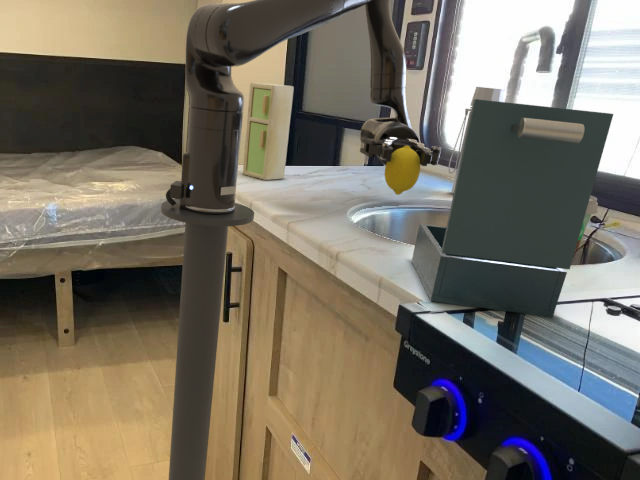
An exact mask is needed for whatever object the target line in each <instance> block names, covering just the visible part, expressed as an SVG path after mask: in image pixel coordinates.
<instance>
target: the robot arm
mask: <svg viewBox="0 0 640 480" xmlns="http://www.w3.org/2000/svg"><path fill="white" fill-rule="evenodd" d="M363 6H364V7H365V15H366V23H367V31H368V39H369V50H370V81H369V83H370V84H369V85H370V86H369V87H370V90H369V98H370V102H371V104H372V105H374V106H377V107H384V108H389V109H391V110H392V111H393V112H394V116H393V117H373V118H370V119H368V120H366V121H365V122H364V123H363V125H362V126H361V128H360V134H359V136H360V137H359V138H360V147H359V153H361V154H363V155H364V156H366V157H369V158H371V159H372V158H376V157H377V158H378V160H379V161H380V163H381V164H383V165H384V166H386V164H387V162H390V161H391V156H392V153H393V152H394V151H396V150H397V149H400V148H403V147H404V146H409V147H410V148H411V149H412V150H414V151H415V152H416V153H417V154H418V156H419V159H420V166H422V167H427V166H428V165H431V166H438V164H439V162H440V156H441V153H442V152H441V151H442V146H440V145H434V146H433V145H432V146H431V147H430V148H429V147H427V146H425V143H422V142H421V141H420V138H419V136H418V134H417V132H416V131H415V129H413V127H412V124H411V123H412V122H411V120H410V116H409V112H408V111H409V110H408V106H407V97H406V96H407V95H406V92H407V91H406V90H407V89H406V87H407V57H406V53H405V49H404V47H403V44H402V42H401V39H400V37H399V35H398V33H397V31H396V28H395V25H394V22H393V19H392V13H391V0H250V1H244V2H230V3H228V2H225V3H222V2H221V3H216V2H215V3H206V4H202V5H200V6H198V8H196V9H195V10H194V12H192V14H191V16H190V19H189V21H188V25H187V29H186V34H185V35H186V37H185V68H184V69H185V71H184V73H185V76H184V78H185V79H184V80H185V89H186V91H187V94H188V113H187V129H186V145H185V152H184V153H183V154H182V159H181V160H182V162H181V178H180V180H175V181H173V182H172V183H171V184H170V188H169V189H168V190H167V191H166V193H165V200H166V201H168V202H169V203H170V204H171V205H172V206H173V205H175V204H176V202H175V201H174V200H173V199H180V209H184V210H188V211H191V212H195V213H200V214H208V215H224V214H230V213H233V212H234V209H235V205H234V203H236V192H237V182H238V170H239V159H240V151H241V139H242V129H243V118H244V106H245V96H244V94H243V92H242V91H241V90H239V88H237V86H236V85H235V84H234V81H233V78H232V68H235V67H240V66H243V65H246V64H248V63H250V62H251V61H253V60H255V59H257V58H258V57H260V56H261V55H263V54H264V53H266V52H268V51H269V50H271V49H273V48H274V47H276V46H278V45H279V44H281V43H283V42H285V41H287V40H289V39H292V38H295V37H297V36H301V35H303V34H305V33H308V32H311V31H312V30H313V31H314V30H315V29H318V28H320V27H323V26H325V25H327V24H329V23H333V22H334V21H336V20H339V19H340V18H343V17H344V16H345V15H346V16H347V15H348V14H350V13H352V12H354V11H356V10H357V9H360V8H362V7H363Z"/></svg>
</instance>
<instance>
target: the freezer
mask: <svg viewBox="0 0 640 480" xmlns="http://www.w3.org/2000/svg"><path fill="white" fill-rule="evenodd" d="M446 227H447V226H443V225H436V224H427V223H419V225H418V230H417V234H416V238H415V244H414V248H413V253H412V257H411V264H412V265H413V267H414V269H415V271H416V274H417V276H418V278H419V280H420V282H421V284H422V286H423V289H424V291H425V292H426V294H427V296H428V299H429V301H430V302H433V303H434V302H435V303H442V304H449V305H455V306H456V305H458V306H464V307H472V308H478V309H479V308H480V309H488V310H495V311H502V312H508V313H509V312H510V313H517V314H525V315H533V316H539V317H548V318H554V315H555V312H556V309H557V305H558V301H559V299H560V296H561V293H562V289H563V286H564V283H565V281H566V277H567V275H568V272H567V271H566V269H562V268H554V267H546V266H538V265H531V264H523V263H515V262H507V261H499V260H492V259H484V258H476V257H468V256H460V255H452V254H445V253H442V252H441V251H442V246H443V241H444V237H445V232H446Z"/></svg>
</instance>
